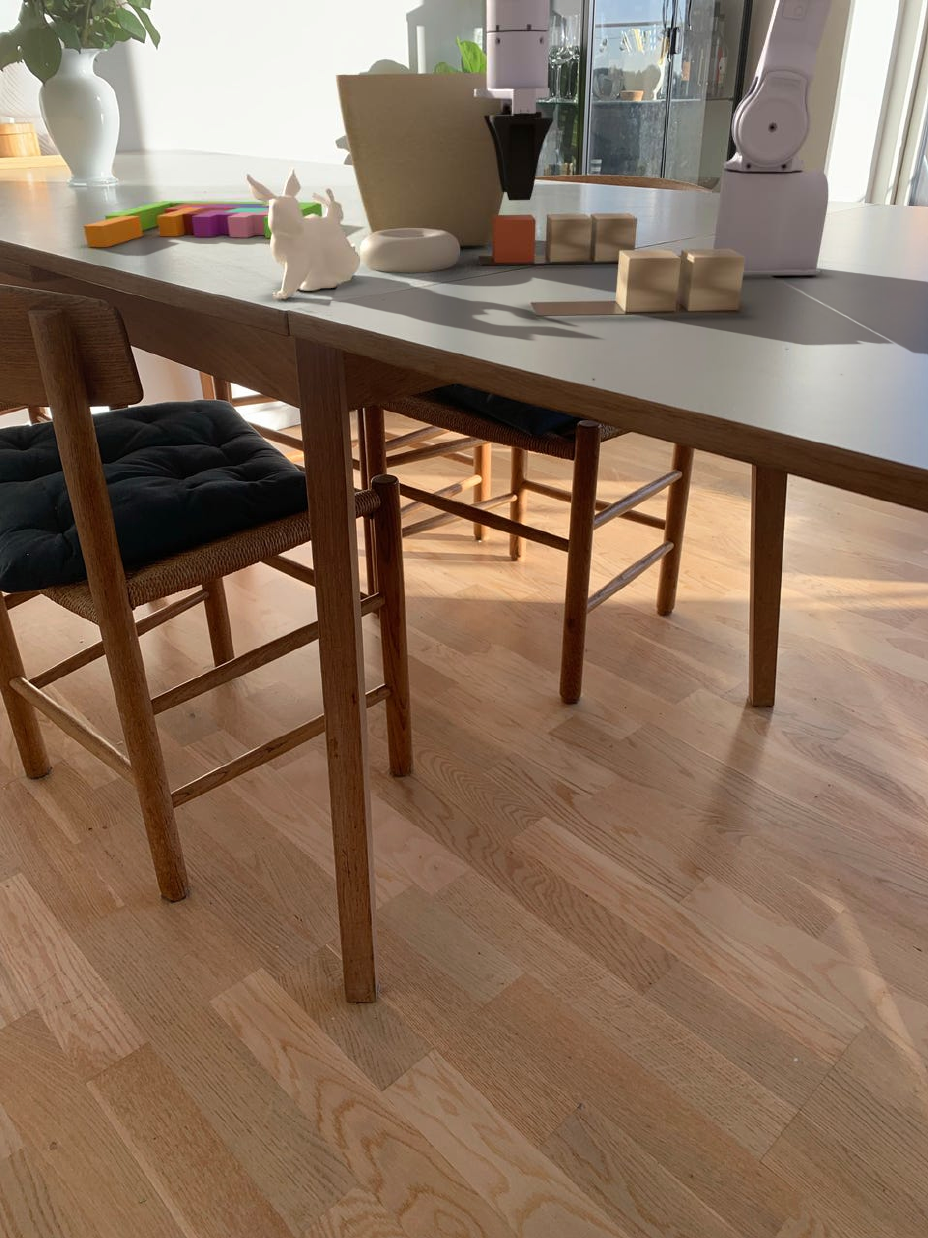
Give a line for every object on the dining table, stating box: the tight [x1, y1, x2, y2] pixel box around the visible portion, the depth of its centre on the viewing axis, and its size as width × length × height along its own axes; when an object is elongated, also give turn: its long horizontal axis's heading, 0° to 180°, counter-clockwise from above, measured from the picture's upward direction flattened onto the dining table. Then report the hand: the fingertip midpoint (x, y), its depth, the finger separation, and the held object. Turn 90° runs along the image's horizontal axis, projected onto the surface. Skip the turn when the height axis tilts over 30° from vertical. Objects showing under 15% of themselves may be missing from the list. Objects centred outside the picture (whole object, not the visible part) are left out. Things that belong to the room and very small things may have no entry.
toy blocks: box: [83, 200, 323, 248], centre depth 114 cm, size 23×2×25 cm
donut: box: [359, 228, 461, 274], centre depth 91 cm, size 10×4×10 cm
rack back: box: [477, 212, 638, 268], centre depth 93 cm, size 16×5×4 cm, turn 92°
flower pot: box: [335, 72, 505, 247], centre depth 103 cm, size 19×19×17 cm
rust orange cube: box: [491, 214, 536, 263], centre depth 92 cm, size 4×4×4 cm
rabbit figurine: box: [245, 167, 361, 300], centre depth 82 cm, size 12×8×10 cm, turn 140°
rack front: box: [529, 248, 746, 317], centre depth 72 cm, size 16×5×4 cm, turn 92°
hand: (515, 195), depth 90 cm, fingers open, 7 cm apart
